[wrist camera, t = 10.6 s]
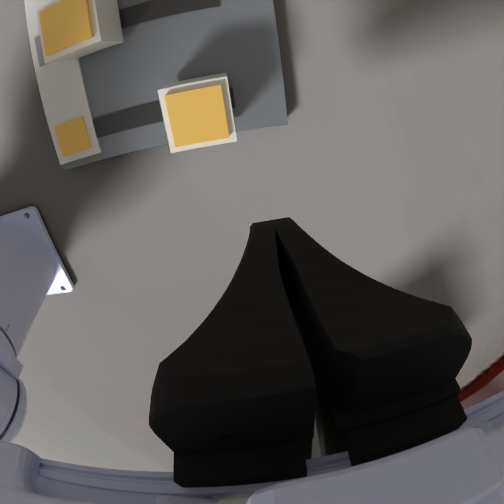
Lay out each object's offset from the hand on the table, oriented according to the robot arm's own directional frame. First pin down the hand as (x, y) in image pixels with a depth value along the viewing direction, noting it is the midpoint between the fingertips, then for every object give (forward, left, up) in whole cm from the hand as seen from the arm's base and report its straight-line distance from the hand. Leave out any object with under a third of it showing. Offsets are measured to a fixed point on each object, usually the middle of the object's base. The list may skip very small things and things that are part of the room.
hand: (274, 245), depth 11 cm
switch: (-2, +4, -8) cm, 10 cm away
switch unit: (-5, +10, -10) cm, 15 cm away
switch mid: (-7, +10, -9) cm, 15 cm away
